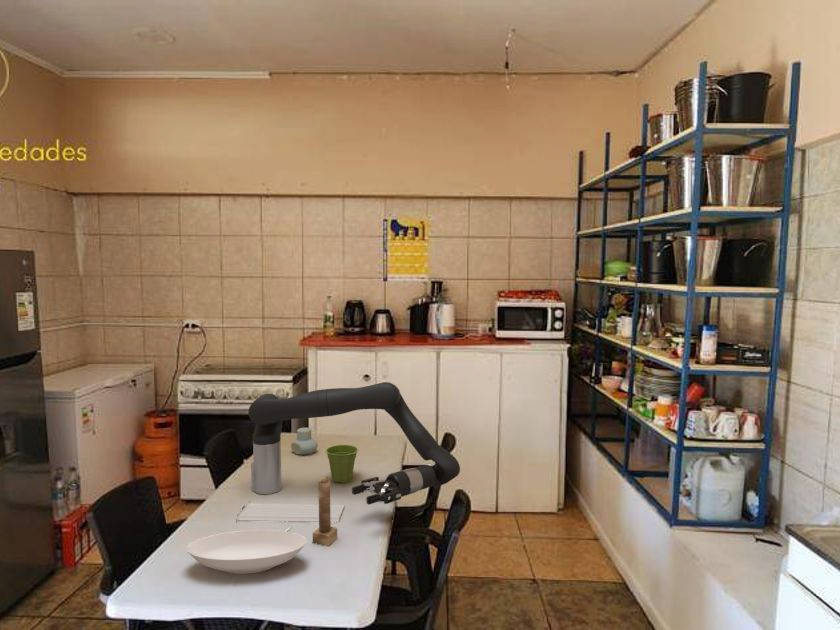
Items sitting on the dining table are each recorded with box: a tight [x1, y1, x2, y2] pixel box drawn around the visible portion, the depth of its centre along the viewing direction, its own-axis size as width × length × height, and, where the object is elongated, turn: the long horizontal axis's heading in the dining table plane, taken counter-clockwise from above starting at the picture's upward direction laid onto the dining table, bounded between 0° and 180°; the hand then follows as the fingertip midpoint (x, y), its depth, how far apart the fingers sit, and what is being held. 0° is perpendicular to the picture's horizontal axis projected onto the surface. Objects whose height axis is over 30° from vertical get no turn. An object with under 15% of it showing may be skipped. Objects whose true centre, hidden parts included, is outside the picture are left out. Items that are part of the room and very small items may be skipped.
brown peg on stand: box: [312, 476, 338, 547], centre depth 150 cm, size 5×5×18 cm
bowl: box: [186, 529, 307, 575], centre depth 137 cm, size 30×15×6 cm, turn 94°
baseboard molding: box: [237, 500, 345, 524], centre depth 166 cm, size 31×3×12 cm
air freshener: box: [290, 427, 319, 456], centre depth 223 cm, size 11×8×10 cm
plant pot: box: [325, 444, 359, 484], centre depth 195 cm, size 12×12×11 cm
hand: (359, 496), depth 157 cm, fingers open, 8 cm apart
